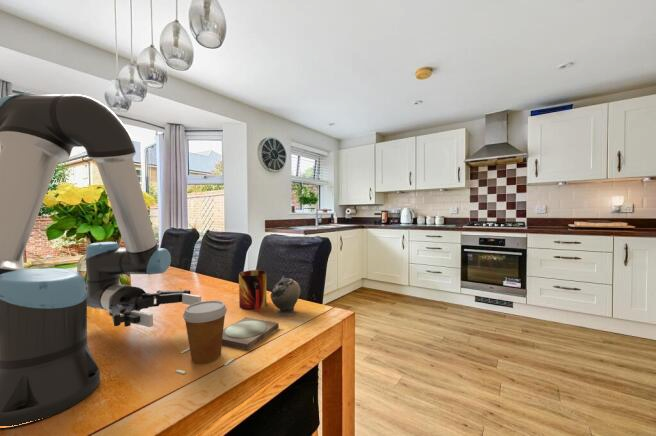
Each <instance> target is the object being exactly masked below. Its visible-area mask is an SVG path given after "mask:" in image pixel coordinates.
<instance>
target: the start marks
mask: <svg viewBox="0 0 656 436" xmlns="http://www.w3.org/2000/svg"><path fill="white" fill-rule="evenodd" d="M189 351H190V347H188V348H186V349H185V350H182V351H181V352H180V354H181V355H182V354H184V353H186V352H189ZM233 361H235V360H234V359H233V358H231V359H230V360H228V361H227V362H225V363H223V366H226V367H227V365H229V364H231V363H232V362H233ZM175 372H176V373H179V374H181V375H185V374H186V373H187V372H186V371H184V370H181V369H176V370H175Z"/></svg>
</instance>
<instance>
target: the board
mask: <svg viewBox="0 0 656 436" xmlns="http://www.w3.org/2000/svg"><path fill="white" fill-rule="evenodd" d="M279 328H280V327H279V322H274V321H269V320H264V319H259V318H253V317H246V316H245V317H244V318H241V319H240V320H238V321H236V322H234V323H232V324H230V325H228V326H227V327H225V328H223V337H222V345H223V346H226V347H231V348H235V349H239V350H244V351H248V350H250V349H251V348H253V347H254V346H255V345H257V344H258V343H260V342H261V341H263V340H264V339H266V338H267V337H268V336H270V335H271V334H273V333H274V332H275V331H277V330H278V329H279Z"/></svg>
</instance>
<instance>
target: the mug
mask: <svg viewBox="0 0 656 436" xmlns="http://www.w3.org/2000/svg"><path fill="white" fill-rule="evenodd" d="M238 288H239V289H238V294H239V296H238V298H239V301H238V303H239V304H238V305H239V308H240V309H241V310H245V311H252V310H253V311H254V310H255V311H256V312H258V311H260V309H263V308H265V307H266V306H267V304H268V303H267V302H268V301H267V271H266V270H261V269H254V270H253V269H251V270H245V271H241V272H239V273H238Z"/></svg>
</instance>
